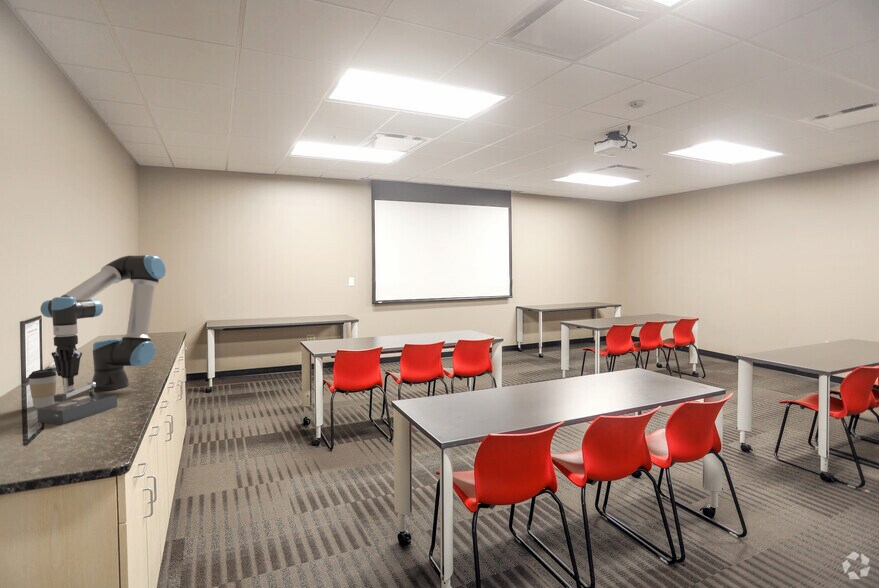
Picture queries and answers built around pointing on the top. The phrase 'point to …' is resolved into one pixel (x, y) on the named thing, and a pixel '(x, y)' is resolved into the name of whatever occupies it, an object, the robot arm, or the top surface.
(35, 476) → the top surface
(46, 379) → the coffee cup
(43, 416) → the lever switch
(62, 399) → the grey long bar
